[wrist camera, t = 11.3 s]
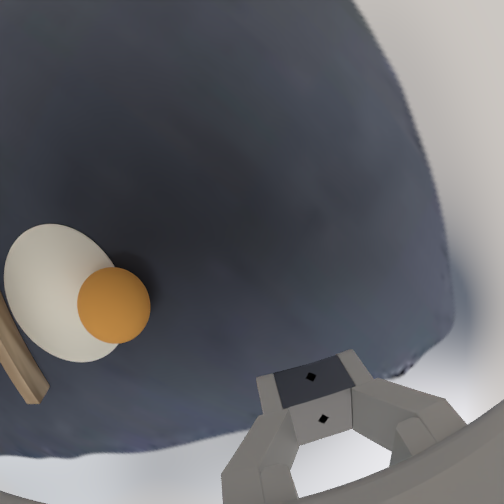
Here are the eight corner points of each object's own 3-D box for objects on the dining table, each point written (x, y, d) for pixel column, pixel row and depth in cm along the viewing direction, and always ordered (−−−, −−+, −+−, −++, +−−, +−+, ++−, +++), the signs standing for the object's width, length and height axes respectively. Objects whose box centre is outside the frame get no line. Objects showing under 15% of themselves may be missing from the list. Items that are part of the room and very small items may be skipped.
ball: (122, 371, 19) (159, 324, 24) (123, 324, 16) (169, 275, 21) (66, 331, 20) (106, 292, 24) (58, 280, 17) (108, 241, 21)
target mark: (102, 382, 25) (102, 383, 25) (-3, 315, 22) (-4, 316, 22) (152, 273, 23) (152, 274, 23) (24, 196, 20) (23, 196, 20)
